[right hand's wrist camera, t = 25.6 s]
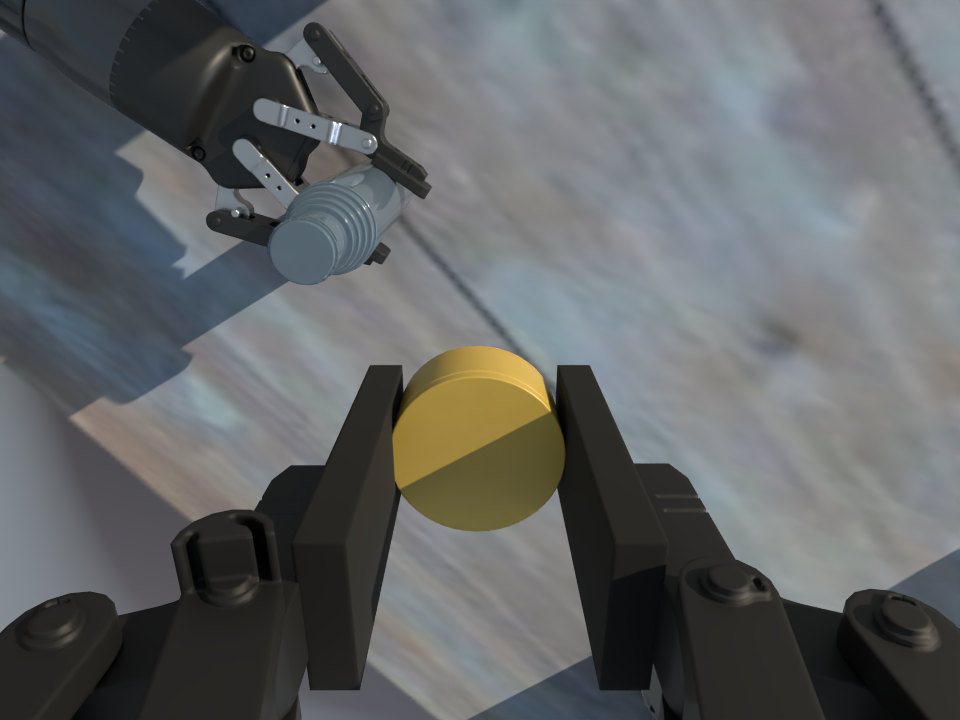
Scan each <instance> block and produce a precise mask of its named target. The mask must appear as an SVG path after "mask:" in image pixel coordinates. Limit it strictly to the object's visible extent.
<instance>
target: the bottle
mask: <svg viewBox="0 0 960 720" xmlns="http://www.w3.org/2000/svg"><path fill="white" fill-rule="evenodd" d="M371 161H372V159H368V160H366V161H364V162H362V163H359V164H357V165H355V166H353V167H350V168H348V169H346V170H344V171H342V172H339V173H337V174H335V175H333V176H330V177H328V178H326V179H324V180H322V181H319V182H317V183H315V184H313V185H310V186H308V187H307V188H305V189H303V190H302V191H301V192H299V193H298V194H297V195H296V196H295V198H294V199H293V201H292V202H291V204H290V205H289V207H288V209H287V211H286V214H285V219H284V221H283V222H281V223H280V224H279V225H278V226H277V227H276V228H275V229H274V230H273V232H272V234H271V235H270V238H269V242H268V256H269V260H270V263H273V265H274V267H275V268H276V270H277V271H278V272H279V273H280V274H281V275H282V276H283V277H284V278H286V279H287V280H289V281H291V282H293V283H296V284H301V285H313V284H318V283H320V282H323V281H325V280H326V279H327V278H328V277H330V276H331V275H340V274H345V273H348V272H350V271H352V270H355V269H356V268H358V267H360V266H361V265H362V264H363V263H365V262H366V261H367V259H368V258H369V257H370V255H371V254H372V253H373V251H374V250H375V249H376V247H377V246H378V245H379V243H380V242H381V241H382V239H383V238H384V237H385V235H386V234H387V232H388V231H389V230H390V228H391V227H392V226H393V224H394V223H395V222H396V220H397V219H398V218H399V216H400V215H401V214H402V212H403V211H404V209H405V208H406V207H407V205H408V204H409V202H410V200H411V197H412V192H411V191H409V190H408V189H407V188H405V187H404V186H402V185H401V184H399V183H398V182H396V181H395V180H393V179H392V178H391V177H389V176H388V175H386V174H385V173H384V172H382V171H381V170H379V169H378V168H376V167H375V166H373V165H372V164H370V163H371Z"/></svg>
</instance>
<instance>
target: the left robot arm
mask: <svg viewBox="0 0 960 720" xmlns="http://www.w3.org/2000/svg"><path fill="white" fill-rule="evenodd" d="M0 29H1V30H2V31H4V32H5V33H7V34H8V35H10V36H12V37H13V38H15V39H16V40H18V41H19V42H21V43H22V44H24V45H25V46H27V47H29V48H30V49H32V50H33V51H35V52H37V53H38V54H39V55H41V56H42V57H44V58H45V59H46V60H48V61H49V62H50V63H51V64H53V65H54V66H55V67H56V68H57V69H59V70H60V71H61V72H62V73H63V74H65V75H66V76H67V77H68V78H70V79H71V80H72V81H74V82H75V83H76V84H78V85H79V86H81V87H82V88H84V89H85V90H87V91H88V92H90V93H91V94H93V95H95V96H96V97H98V98H99V99H101V100H102V101H104V102H105V103H107V104H108V105H110V106H112V107H113V108H115V109H116V110H118V111H119V112H121V113H122V114H124V115H126V116H127V117H129V118H130V119H132V120H133V121H135V122H136V123H138V124H140V125H141V126H143V127H144V128H146V129H147V130H149V131H151V132H152V133H154V134H155V135H157V136H158V137H160V138H161V139H163V140H164V141H166V142H168V143H169V144H171V145H172V146H174V147H175V148H177V149H178V150H180V151H181V152H183V153H185V154H186V155H188V156H189V157H191V158H193V159H194V160H196V161H198V162H199V163H200V164H202V165H203V166H204V167H205V169H206V170H207V171H208V173H209V174H210V176H211V177H212V179H213V180H214V181H215V182H216V183H217V184H218V191H217V198H216V205H215V211H213V212H211V213H209V214H208V215H207V217H206V223H207V225H208V227H209V228H210V229H211V230H213V231H215V232H219V233H222V234H225V235H229V236H232V237H236V238H239V239H242V240H246V241H249V242H253V243H256V244H259V245H263V246H266V247H268V242H269V238H270V235H271V234H272V232H273V230H274V229H275V228H276V227H277V226H278V225H279V224H280V223H281V222H283V221H280V220H276V219H273V218H270V217H266V216H263V215H260V214H256V213H254V207H253V205H252V204H251V203H250V202H249V201H247V200H245V199H243V198H242V197H241V195H240V193H239V189H251V188H267V190H268V191H269V192H270V193H271V194H272V195H273V196H274V197H275V198H276V199H277V201H278V202H279V203H280V204H281V205H282V206H283V207H284V208H285V209H288V207H289V205H290V204H291V202H292V201H293V199H294V198H295V196H296V195H297V194H298V193H299V192H301V191H302V190H303V189H305V188H307V187H308V186H310V184H309V183H308V182H307V180H306V179H305V178H304V177H303V176H302V174H303V172H304V170H305V168H306V164H307V160H308V156H309V154H310V153H311V152H312V151H313V150H314V149H315V148H316V147H317V146H318V145H319V143H320V141H324V142H327V143H330V144H335V145H339V146H342V147H345V148H348V149H351V150H353V151H356V152H359V153H362V154H364V155H366V156H367V157H369V158H370V159H372V161H371V163H370V164H372V165H373V166H375V167H376V168H378V169H379V170H381V171H382V172H384V173H385V174H386V175H388V176H389V177H391V178H392V179H393V180H395V181H396V182H398V183H399V184H401V185H402V186H404V187H405V188H407V189H408V190H409V191H411V192H412V193H414V194H415V195H417V196H418V197H420V198H422V199H425V197H426V196H427V194H428V192H429V191H430V189H431V188H432V187H431V185H429V184H428V183H427V182H425V181H424V180H425V178H426V177H427V175H428V174H427V172H426V171H425V169H424V168H423V166H421V165H420V164H418V163H417V162H415V161H414V160H413V159H411V158H410V157H408V156H407V155H405V154H404V153H403V152H401V151H400V150H398V149H397V148H395V147H394V146H393V145H391V144H390V143H389V142H388V141H387V140H386V138H385V134H384V129H385V123H386V118H387V116H388V115H389V106H388V104H387V102H386V101H385V100H384V99H383V97H382V96H381V95H380V93H379V92H378V91H377V89H376V88H375V87H374V86H373V84H372V83H371V82H370V80H369V79H368V78H367V77H366V75H365V74H364V73H363V71H362V70H361V69H360V67H359V66H358V65H357V64H356V62H355V61H354V60H353V58H352V57H351V56H350V55H349V53H348V52H347V51H346V49H345V48H344V47H343V46H342V44H341V43H340V42H339V40H338V39H337V38H336V36H335V35H334V34H333V33H332V31H330V30H329V29H327V28H326V27H324V26H322V25H320V24H318V23H315V22H312V23H309V24H307V25H306V27H305V28H304V32H303V35H304V37H303V38H301V39H300V40H299V41H298V42H297V43H296V44H295V45H294V46H293V47H292V48H291V49H290V50H289V51H288V52H287V53H286V54H283V53H280V52H273V51H268V50H265V49H263V48H262V47H260V46H259V45H257V44H256V43H254V42H253V41H252V40H250V39H249V38H247V37H246V36H244V35H243V34H242V33H240V32H239V31H237V30H236V29H235V28H233V27H232V26H230V25H229V24H227V23H226V22H225V21H223V20H222V19H220V18H219V17H218V16H216V15H215V14H213V13H212V12H210V11H209V10H208V9H206V8H205V7H203V6H202V5H201V4H199V3H198V2H196V1H195V0H0ZM307 66H308V67H310V68H311V69H312V70H313V71H315V72H316V73H320V74H328V73H331V74H332V75H333V77H334V78H335V79H336V80H337V82H338V83H339V84H340V85H341V87H342V88H343V89H344V91H345V92H346V93H347V94H348V96H349V97H350V98H351V99H352V101H353V102H354V103H355V104H356V106H357V107H358V108H359V109H360V111H361V112H362V119H361V125H360V126H357V125H355V124H352V123H349V122H347V121H345V120H342V119H339V118H336V117H333V116H330V115H327V114H324V113H322V112H319V111H318V109H317V106H316V104H315V102H314V99H313V97H312V94H311V92H310V90H309V87H308V85H307V83H306V80H305V78H304V75H303V73H302V71H301V69H302V68H303V67H307ZM294 181H295V183H294ZM280 187H281V188H280ZM390 251H391V250H390V249H389V248H388V247H387V246H386V245H384V244H383V243H381V242H380V243H379V245H378V246H377V247H376V249H375V250H374V251H373V253H372V254H371V255H370V257H369V258H368V259H367V261H366V262H365V263H363V264H366V265H371V263H372V262H373V261H375V262H377V263H379V264H383V262H384V261H385V259H386V258H387V256H388V254H389V253H390Z"/></svg>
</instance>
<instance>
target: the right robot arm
mask: <svg viewBox="0 0 960 720" xmlns="http://www.w3.org/2000/svg"><path fill="white" fill-rule="evenodd" d="M402 396H403V374H402V365H370V366H369V369H368V371H367V373H366V375H365V378H364V380H363V382H362V384H361V386H360V389H359V391H358V393H357V395H356V398H355V400H354V402H353V404H352V406H351V409H350V411H349V413H348V415H347V418H346V420H345V422H344V424H343V426H342V429H341V431H340V433H339V435H338V438H337V440H336V442H335V444H334V447H333V449H332V451H331V453H330V455H329V458H328V460H327V462H326V464H325V465H291V466H290V467H288V468H287V469H286V470H284V471H283V472H282V473H280V474H279V475H278V476H277V477H275V478H274V479H273V480H272V481H271V482H270V484H269V486H268V488H267V489H266V491H265V493H264V495H263V496H262V500H260V501H259V503H258V505H257V507H256V508H255V510H254V511H253V510H228V511H223V512H219V513H214V514H211V515H209V516H206V517H204V518H201V519H199V520H197V521H194V522H193V523H191V524H190V525H189V526H187V527H186V528H184V529H183V530H182V531H180V532H179V533H178V535H177V536H176V537H175V539H174V540H173V541H172V543H171V544H170V545H171V549H172V554H173V558H174V562H175V567H176V572H177V576H178V581H179V585H180V590H181V596H180V599H179V600H177V601H175V602H172V603H168V604H165V605H162V606H158V607H154V608H150V609H145V610H141V611H137V612H132V613H128V614H123V615H119V616H118V615H117V611H116V608H115V604H114V602H113V601H112V600H110V599H109V598H108V597H107V596H106V595H104V594H99V593H95V592H79V593H70V594H66V595H63V596H60V597H56V598H54V599H50V600H47V601H45V602H43V603H41V604H39V605H37V606H36V607H34V608H32V609H30V610H28V611H26V612H24V613H23V614H22V615H21V616H19V617H18V618H17V619H16V620H14V621H13V622H12V623H10V624H9V625H8V626H7V627H6V628H5V629H4V630H3V631H2V632H1V633H0V720H301V718H302V717H301V710H300V703H299V696H298V691H299V688H300V685H301V682H302V678H303V675H304V672H305V669H306V666H307V671H308V678H309V686H310V690H360V687H361V682H362V677H363V672H364V668H365V663H366V658H367V653H368V649H369V644H370V639H371V634H372V630H373V625H374V620H375V615H376V611H377V606H378V601H379V596H380V592H381V587H382V582H383V577H384V573H385V568H386V563H387V558H388V554H389V549H390V544H391V539H392V535H393V530H394V525H395V520H396V516H397V511H398V506H399V501H400V497H401V492H400V490H399V489H398V487H397V485H396V483H395V472H394V455H393V438H392V432H393V428H394V425H395V421H396V417H397V414H398V410H399V407H400V403H401V400H402ZM556 410H557V413H558V417H559V421H560V425H561V428H562V432H563V436H564V441H565V447H566V460H565V467H564V471H563V474H562V478H561V480H560V482H559V484H558V486H557V489H558V494H559V498H560V503H561V508H562V513H563V517H564V522H565V527H566V532H567V536H568V541H569V546H570V551H571V555H572V560H573V565H574V570H575V574H576V579H577V584H578V589H579V593H580V598H581V603H582V608H583V612H584V617H585V622H586V627H587V631H588V636H589V641H590V646H591V650H592V655H593V660H594V665H595V669H596V674H597V679H598V684H599V688H600V690H641V693H642V697H643V700H644V702H645V705H646V707H647V709H648V710H649V711H650V713H651V714H652V716H653V717H654V719H655V720H960V629H959V628H958V627H957V626H955V625H954V624H953V623H952V622H951V621H950V620H948V619H947V618H946V617H945V616H943V615H942V614H941V613H939V612H938V611H937V610H936V609H934V608H932V607H930V606H928V605H926V604H924V603H922V602H920V601H918V600H916V599H914V598H912V597H909V596H906V595H903V594H899V593H896V592H893V591H887V590H877V589H867V590H863V591H858V592H854V593H853V594H852V595H851V596H850V597H849V598H848V599H847V600H846V602H845V606H844V609H843V613H839V612H835V611H830V610H826V609H821V608H817V607H813V606H808V605H804V604H800V603H796V602H793V601H790V600H786V599H784V598H781V597H780V595H779V593H778V591H777V590H776V588H775V587H774V585H773V584H772V582H771V581H770V580H769V579H768V578H767V577H766V576H765V575H763V574H762V573H761V572H760V571H758V570H757V569H756V568H754V567H751V566H749V565H747V564H745V563H743V562H741V561H739V560H735V558H734V556H733V554H732V553H731V551H730V549H729V548H728V546H727V544H726V542H725V541H724V539H723V537H722V536H721V534H720V532H719V530H718V529H717V527H716V525H715V524H714V522H713V520H712V518H711V517H710V515H709V513H706V508H705V506H704V505H703V503H702V501H701V500H700V498H698V494H697V493H696V491H695V489H694V488H693V486H692V484H691V482H690V481H689V479H688V478H687V477H686V476H685V475H683V474H682V473H681V472H679V471H678V470H677V469H675V468H674V467H673V466H671V465H670V464H634V463H633V461H632V459H631V456H630V454H629V452H628V450H627V447H626V445H625V443H624V441H623V439H622V436H621V434H620V432H619V430H618V427H617V425H616V423H615V421H614V419H613V416H612V414H611V412H610V410H609V407H608V405H607V403H606V401H605V398H604V396H603V394H602V392H601V390H600V387H599V385H598V383H597V381H596V378H595V376H594V374H593V372H592V370H591V367H590V365H558V366H557V386H556Z"/></svg>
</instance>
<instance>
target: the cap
mask: <svg viewBox="0 0 960 720" xmlns="http://www.w3.org/2000/svg"><path fill="white" fill-rule="evenodd" d="M392 438H393V455H394V472H395V483H396V485H397V487H398V489H399V490H400V492H401V493H402V495H403V496H404V498H405V499H406V500H407V501H408V502H409V504H411V505H412V506H413V507H414V508H415V509H416V510H417V511H418V512H420V513H421V514H422V515H424V516H425V517H427V518H429V519H431V520H432V521H434V522H436V523H439V524H441V525H444V526H447V527H450V528H454V529H458V530H464V531H490V530H497V529H501V528H505V527H508V526H511V525H514V524H516V523H519V522H521V521H522V520H524V519H526V518H528V517H529V516H531V515H532V514H534V513H535V512H537V511H538V510H539V509H540V508H541V507H542V506H543V505H544V504H545V503H546V502H547V501H548V500H549V498H550V497H551V496H552V495H553V493H554V491H555V490H556V488H557V486H558V484H559V482H560V480H561V478H562V474H563V471H564V467H565V460H566V447H565V441H564V436H563V432H562V428H561V425H560V421H559V417H558V413H557V410H556V406H555V402H554V399H553V396H552V393H551V391H550V389H549V386H548V384H547V383H546V381H545V380H544V378H543V377H542V376H541V374H540V373H539V372H538V371H537V370H536V369H535V368H534V367H533V366H532V365H530V364H529V363H528V362H527V361H525V360H524V359H522V358H520V357H519V356H517V355H515V354H513V353H510V352H508V351H505V350H502V349H498V348H493V347H486V346H468V347H462V348H457V349H453V350H450V351H447V352H445V353H443V354H440V355H438V356H436V357H435V358H433V359H431V360H430V361H428V362H427V363H426V364H425V365H423V366H422V367H421V368H420V369H419V370H418V371H417V372H416V373H415V374H414V376H413V377H412V379H411V380H410V381H409V383H408V385H407V387H406V389H405V391H404V393H403V396H402V400H401V403H400V407H399V410H398V414H397V417H396V421H395V425H394V428H393V432H392Z"/></svg>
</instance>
